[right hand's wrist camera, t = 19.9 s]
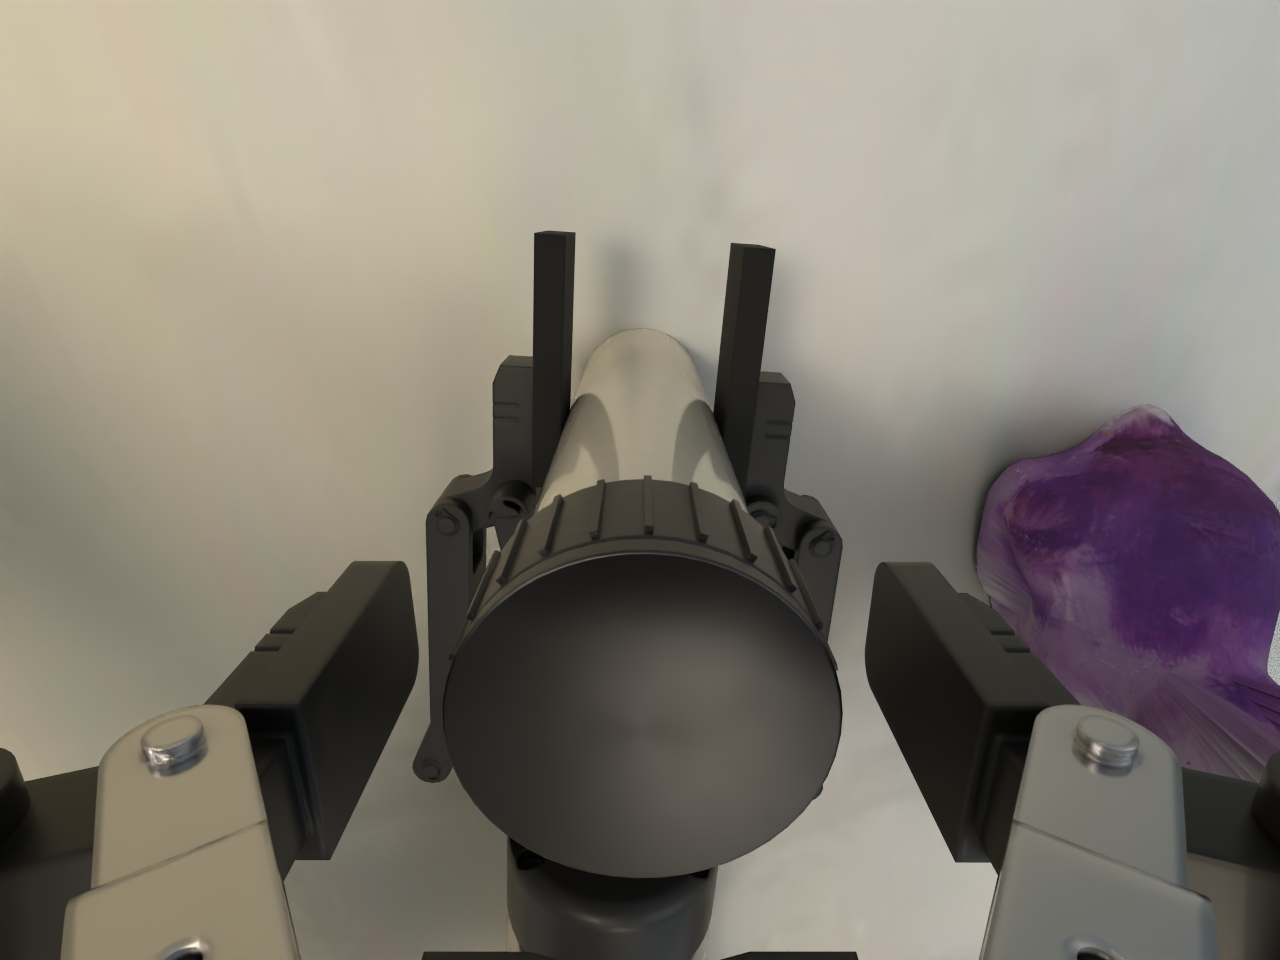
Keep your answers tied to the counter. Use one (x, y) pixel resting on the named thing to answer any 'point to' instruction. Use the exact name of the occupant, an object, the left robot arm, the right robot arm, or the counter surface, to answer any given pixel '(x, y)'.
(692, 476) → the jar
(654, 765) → the lid
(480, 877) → the counter surface
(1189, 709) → the figurine
